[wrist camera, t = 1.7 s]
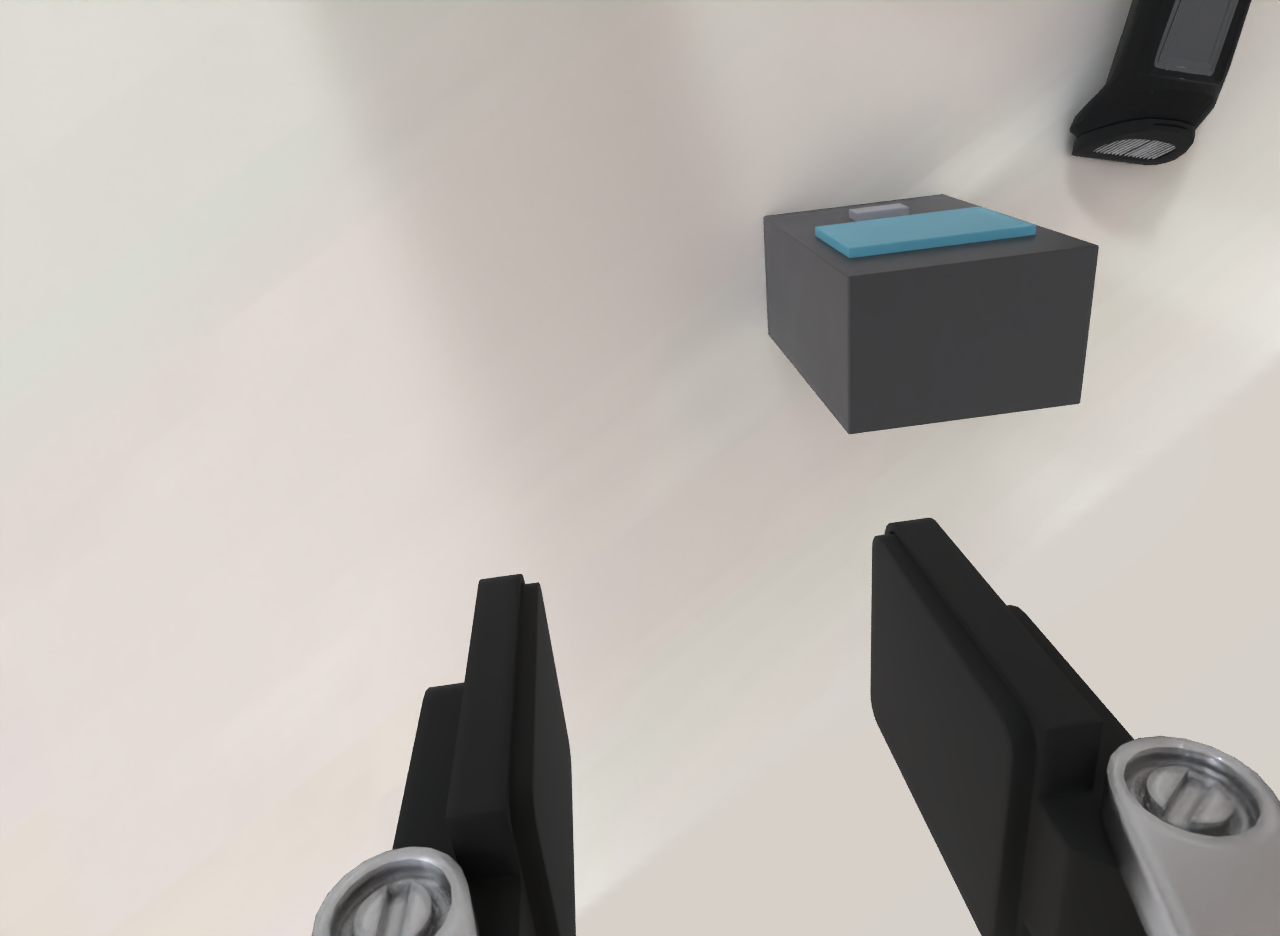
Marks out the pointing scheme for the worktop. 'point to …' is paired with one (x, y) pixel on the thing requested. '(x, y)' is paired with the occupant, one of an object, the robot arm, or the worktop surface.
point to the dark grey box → (928, 310)
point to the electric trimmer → (1161, 80)
